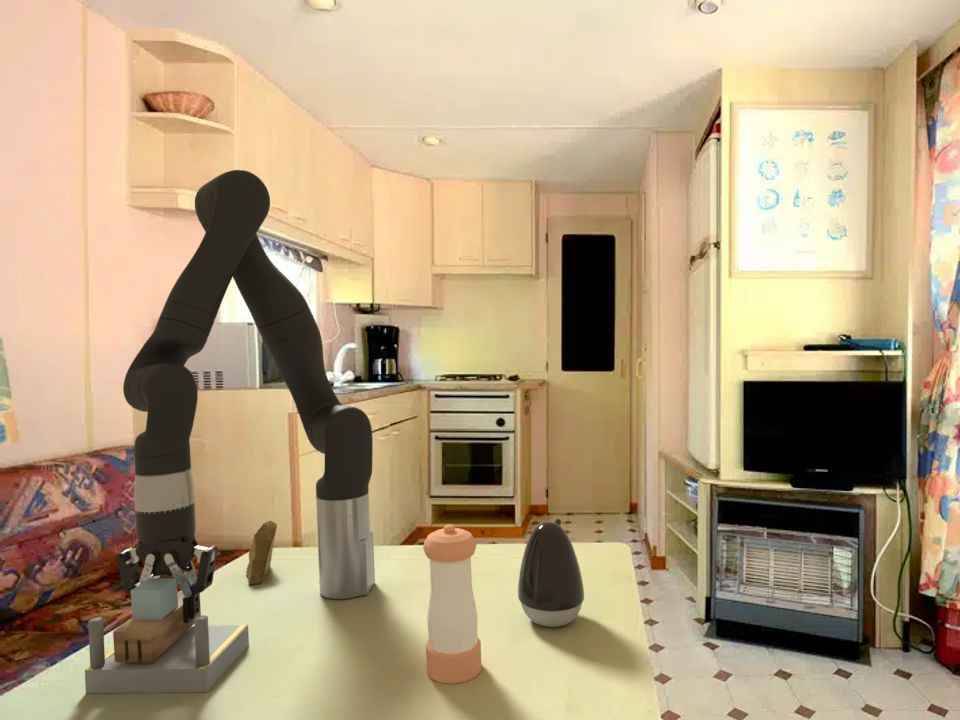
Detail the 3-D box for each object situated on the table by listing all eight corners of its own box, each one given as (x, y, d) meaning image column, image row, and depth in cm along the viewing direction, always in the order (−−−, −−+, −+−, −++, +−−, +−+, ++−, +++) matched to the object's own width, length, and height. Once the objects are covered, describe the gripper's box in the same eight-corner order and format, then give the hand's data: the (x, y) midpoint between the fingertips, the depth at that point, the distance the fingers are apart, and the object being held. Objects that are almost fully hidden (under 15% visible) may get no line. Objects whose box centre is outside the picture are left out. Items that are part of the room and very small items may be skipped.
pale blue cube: (150, 606, 83) (148, 578, 83) (178, 606, 83) (176, 577, 83) (132, 620, 79) (130, 590, 79) (161, 619, 79) (159, 590, 79)
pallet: (168, 618, 88) (166, 591, 88) (201, 617, 88) (199, 591, 88) (114, 662, 76) (113, 631, 76) (152, 661, 76) (150, 631, 76)
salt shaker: (446, 650, 83) (441, 515, 83) (491, 662, 80) (486, 520, 79) (415, 675, 77) (410, 529, 77) (462, 689, 73) (457, 536, 73)
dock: (249, 645, 87) (246, 584, 87) (207, 692, 75) (204, 621, 75) (143, 646, 87) (140, 586, 87) (85, 693, 75) (82, 623, 75)
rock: (270, 575, 109) (299, 550, 118) (241, 539, 109) (272, 516, 118) (234, 604, 112) (265, 578, 121) (206, 569, 112) (239, 545, 121)
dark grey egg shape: (592, 610, 94) (589, 515, 94) (574, 640, 85) (571, 535, 85) (532, 601, 98) (529, 510, 98) (509, 628, 89) (505, 528, 89)
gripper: (226, 495, 87) (231, 608, 88) (133, 497, 88) (138, 610, 88) (200, 508, 80) (206, 632, 80) (98, 511, 81) (103, 634, 81)
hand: (170, 620), depth 84 cm, fingers open, 5 cm apart
